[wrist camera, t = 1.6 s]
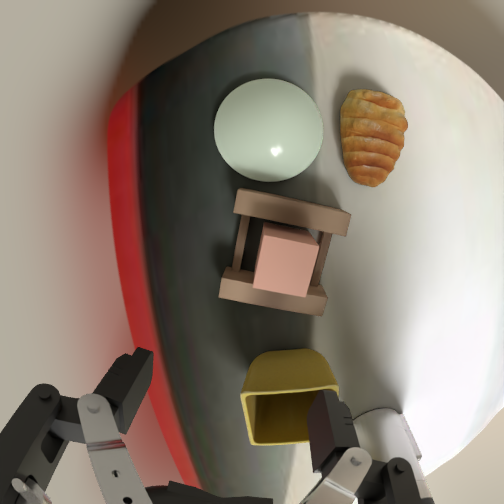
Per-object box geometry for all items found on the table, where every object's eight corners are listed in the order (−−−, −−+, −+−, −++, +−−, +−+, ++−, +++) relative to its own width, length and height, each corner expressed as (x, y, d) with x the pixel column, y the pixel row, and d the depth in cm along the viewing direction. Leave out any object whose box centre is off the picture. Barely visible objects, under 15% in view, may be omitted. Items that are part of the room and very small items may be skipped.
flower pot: (253, 393, 33) (250, 446, 25) (245, 339, 31) (239, 393, 22) (322, 387, 33) (333, 439, 24) (323, 332, 30) (340, 384, 22)
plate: (329, 94, 24) (331, 91, 23) (310, 191, 26) (311, 192, 25) (227, 74, 23) (226, 71, 22) (207, 171, 26) (204, 171, 25)
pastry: (389, 192, 26) (406, 195, 22) (328, 178, 26) (337, 179, 22) (400, 106, 23) (416, 99, 20) (340, 89, 24) (350, 77, 20)
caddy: (341, 209, 27) (351, 214, 24) (316, 302, 29) (321, 316, 26) (240, 187, 27) (237, 189, 23) (223, 284, 29) (218, 297, 26)
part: (308, 230, 27) (319, 246, 22) (297, 272, 29) (305, 297, 23) (264, 221, 27) (263, 235, 22) (255, 264, 29) (252, 287, 23)
